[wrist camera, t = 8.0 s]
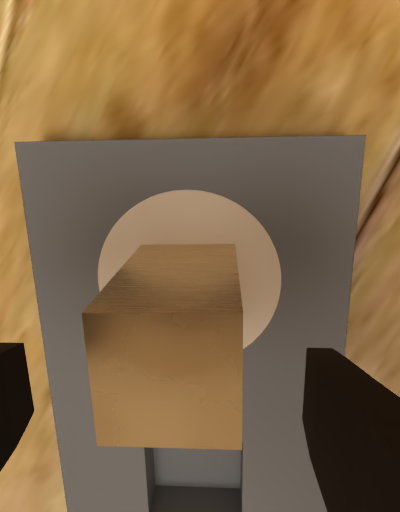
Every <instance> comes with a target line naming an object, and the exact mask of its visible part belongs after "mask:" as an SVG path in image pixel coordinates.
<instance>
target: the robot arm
mask: <svg viewBox="0 0 400 512" xmlns="http://www.w3.org/2000/svg"><path fill="white" fill-rule="evenodd" d="M33 413H34V406H33V400H32V394H31V387H30V381H29V374H28V368H27V362H26V355H25V349H24V343H0V471H1V470H2V468H3V467H4V465H5V464H6V462H7V461H8V459H9V458H10V456H11V455H12V453H13V452H14V450H15V448H16V447H17V445H18V443H19V441H20V439H21V437H22V435H23V433H24V431H25V429H26V427H27V425H28V423H29V421H30V419H31V417H32V415H33ZM302 421H303V426H304V431H305V436H306V442H307V446H308V451H309V456H310V460H311V463H312V466H313V469H314V472H315V476H316V479H317V482H318V485H319V488H320V491H321V494H322V497H323V500H324V503H325V506H326V509H327V512H400V397H398V396H397V395H396V394H394V393H393V392H391V391H390V390H389V389H387V388H386V387H384V386H383V385H382V384H380V383H379V382H378V381H376V380H375V379H374V378H372V377H371V376H370V375H368V374H367V373H366V372H364V371H363V370H362V369H360V368H359V367H358V366H356V365H355V364H354V363H352V362H351V361H350V360H348V359H347V358H346V357H344V356H343V355H342V354H340V353H339V352H338V351H336V350H334V349H333V348H307V351H306V366H305V382H304V397H303V412H302Z"/></svg>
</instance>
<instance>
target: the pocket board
mask: <svg viewBox="0 0 400 512" xmlns="http://www.w3.org/2000/svg"><path fill="white" fill-rule="evenodd" d="M365 137H366V135H341V136H290V137H239V138H188V139H137V140H86V141H36V142H15V149H16V156H17V163H18V170H19V177H20V184H21V191H22V198H23V205H24V212H25V219H26V226H27V233H28V240H29V247H30V254H31V261H32V268H33V275H34V282H35V289H36V296H37V303H38V310H39V316H40V323H41V330H42V337H43V344H44V351H45V358H46V365H47V372H48V379H49V386H50V393H51V400H52V407H53V414H54V421H55V428H56V435H57V442H58V449H59V456H60V463H61V470H62V477H63V484H64V491H65V498H66V505H67V512H327V509H326V506H325V503H324V500H323V497H322V494H321V491H320V488H319V485H318V482H317V479H316V476H315V472H314V469H313V466H312V463H311V460H310V456H309V451H308V446H307V442H306V436H305V431H304V426H303V421H302V412H303V397H304V382H305V366H306V351H307V348H333V349H334V350H336V351H338V352H339V353H340V354H342V355H343V356H344V354H345V344H346V334H347V323H348V313H349V302H350V292H351V282H352V271H353V261H354V251H355V240H356V230H357V220H358V209H359V199H360V189H361V178H362V168H363V158H364V147H365ZM171 244H235V247H236V256H237V264H238V273H239V282H240V290H241V299H242V307H243V400H242V450H222V449H186V448H150V447H114V446H97V441H96V432H95V424H94V415H93V407H92V398H91V390H90V381H89V372H88V364H87V355H86V347H85V338H84V330H83V321H82V312H83V311H84V310H85V309H86V307H87V306H88V305H89V304H90V303H91V302H92V301H93V299H94V298H95V297H96V296H97V295H98V294H99V292H100V291H101V290H102V289H103V288H104V287H105V286H106V284H107V283H108V282H109V281H110V280H111V279H112V277H113V276H114V275H115V274H116V273H117V272H118V271H119V269H120V268H121V267H122V266H123V265H124V264H125V262H126V261H127V260H128V259H129V258H130V257H131V256H132V254H133V253H134V252H135V251H136V250H137V249H138V247H139V246H140V245H171Z"/></svg>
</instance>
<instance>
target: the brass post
mask: <svg viewBox="0 0 400 512" xmlns="http://www.w3.org/2000/svg"><path fill="white" fill-rule="evenodd" d="M82 321H83V330H84V338H85V347H86V355H87V364H88V372H89V381H90V390H91V398H92V407H93V415H94V424H95V432H96V441H97V446H114V447H150V448H186V449H222V450H242V400H243V307H242V299H241V290H240V282H239V273H238V264H237V256H236V247H235V244H171V245H140V246H139V247H138V249H137V250H136V251H135V252H134V253H133V254H132V256H131V257H130V258H129V259H128V260H127V261H126V262H125V264H124V265H123V266H122V267H121V268H120V269H119V271H118V272H117V273H116V274H115V275H114V276H113V277H112V279H111V280H110V281H109V282H108V283H107V284H106V286H105V287H104V288H103V289H102V290H101V291H100V292H99V294H98V295H97V296H96V297H95V298H94V299H93V301H92V302H91V303H90V304H89V305H88V306H87V307H86V309H85V310H84V311H83V312H82Z"/></svg>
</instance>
